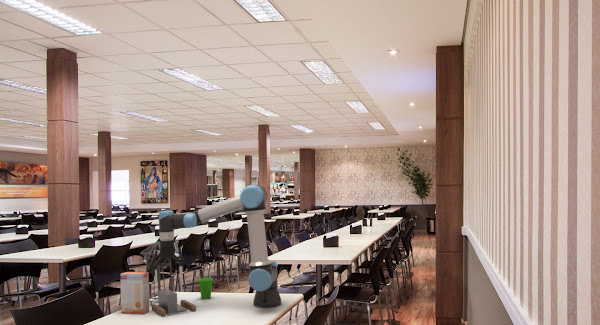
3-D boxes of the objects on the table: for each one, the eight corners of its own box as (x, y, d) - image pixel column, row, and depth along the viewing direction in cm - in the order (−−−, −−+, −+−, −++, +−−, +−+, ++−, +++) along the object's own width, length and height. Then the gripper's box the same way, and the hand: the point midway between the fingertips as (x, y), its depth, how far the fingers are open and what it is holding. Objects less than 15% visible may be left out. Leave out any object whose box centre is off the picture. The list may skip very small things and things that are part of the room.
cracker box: (150, 311, 271) (149, 271, 272) (143, 314, 266) (142, 273, 267) (128, 310, 276) (127, 271, 277) (120, 313, 270) (119, 273, 271)
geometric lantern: (165, 307, 278) (163, 243, 280) (139, 307, 283) (138, 243, 284) (179, 301, 294) (177, 240, 295) (154, 300, 298) (153, 240, 299)
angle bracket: (158, 308, 275) (158, 290, 275) (176, 306, 280) (176, 287, 281) (167, 314, 261) (167, 294, 262) (186, 311, 267) (186, 292, 267)
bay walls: (195, 311, 268) (195, 305, 268) (161, 316, 258) (161, 310, 259) (184, 305, 283) (184, 299, 283) (151, 310, 274) (151, 304, 274)
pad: (190, 312, 266) (190, 311, 266) (167, 315, 260) (167, 315, 260) (178, 306, 282) (178, 305, 282) (157, 309, 275) (157, 308, 275)
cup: (210, 300, 293) (209, 280, 294) (195, 300, 295) (195, 281, 296) (216, 296, 302) (215, 278, 303) (201, 296, 304) (201, 278, 304)
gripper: (145, 242, 262) (146, 284, 260) (192, 238, 275) (193, 277, 274) (141, 241, 268) (142, 282, 267) (187, 237, 281) (188, 276, 280)
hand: (168, 280), depth 270 cm, fingers open, 13 cm apart
